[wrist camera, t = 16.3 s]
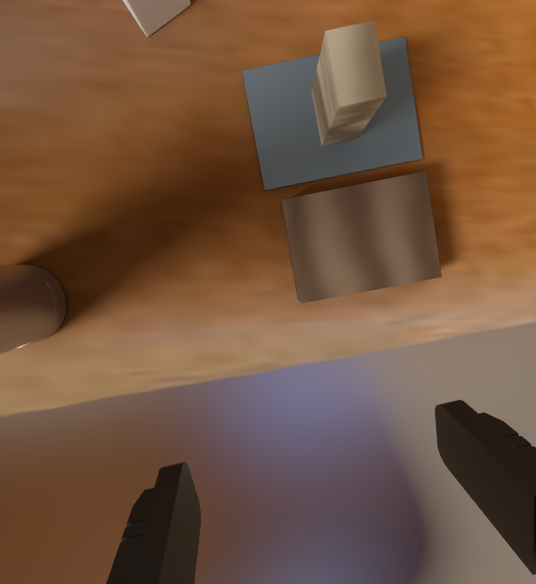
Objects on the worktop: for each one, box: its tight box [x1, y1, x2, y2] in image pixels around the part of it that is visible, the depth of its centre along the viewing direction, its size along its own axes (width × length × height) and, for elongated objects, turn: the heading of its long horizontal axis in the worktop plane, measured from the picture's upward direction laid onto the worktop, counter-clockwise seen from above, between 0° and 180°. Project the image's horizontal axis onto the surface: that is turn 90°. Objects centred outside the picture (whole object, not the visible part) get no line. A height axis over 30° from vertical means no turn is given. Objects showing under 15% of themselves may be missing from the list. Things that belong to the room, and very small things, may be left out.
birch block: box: [311, 20, 387, 146], centre depth 33 cm, size 4×6×10 cm, turn 12°
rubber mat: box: [242, 37, 423, 190], centre depth 38 cm, size 18×13×1 cm
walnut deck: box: [281, 171, 442, 303], centre depth 38 cm, size 15×11×4 cm
